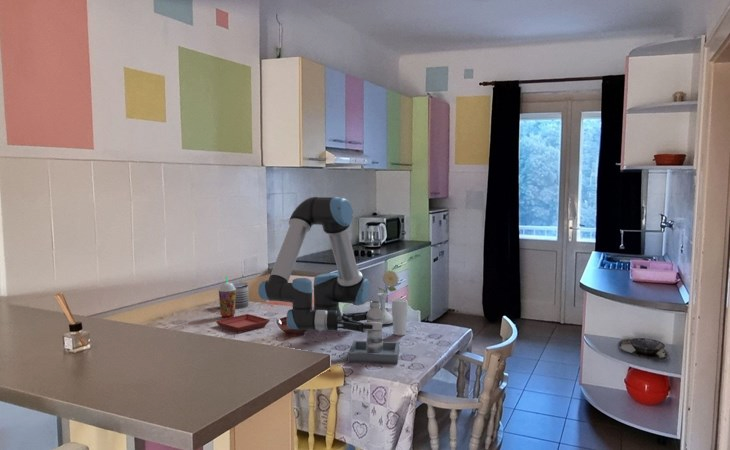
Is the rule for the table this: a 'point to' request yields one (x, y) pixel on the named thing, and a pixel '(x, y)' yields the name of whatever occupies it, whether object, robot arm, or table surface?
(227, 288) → the smoothie
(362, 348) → the tray
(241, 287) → the can
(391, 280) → the flower in vase
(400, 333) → the drinking glass
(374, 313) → the silver metal bottle
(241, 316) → the plant saucer
